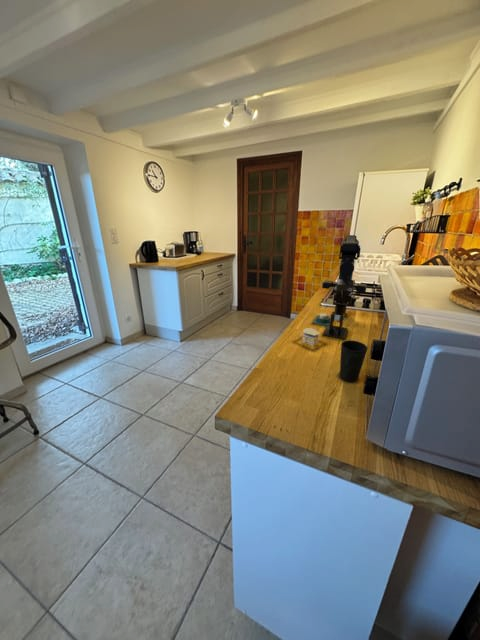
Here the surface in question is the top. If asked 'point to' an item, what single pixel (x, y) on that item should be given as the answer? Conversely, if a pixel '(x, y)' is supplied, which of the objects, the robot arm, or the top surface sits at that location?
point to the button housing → (322, 321)
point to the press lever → (337, 317)
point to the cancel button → (323, 316)
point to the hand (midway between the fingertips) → (341, 303)
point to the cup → (351, 360)
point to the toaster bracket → (335, 328)
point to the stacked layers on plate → (310, 336)
